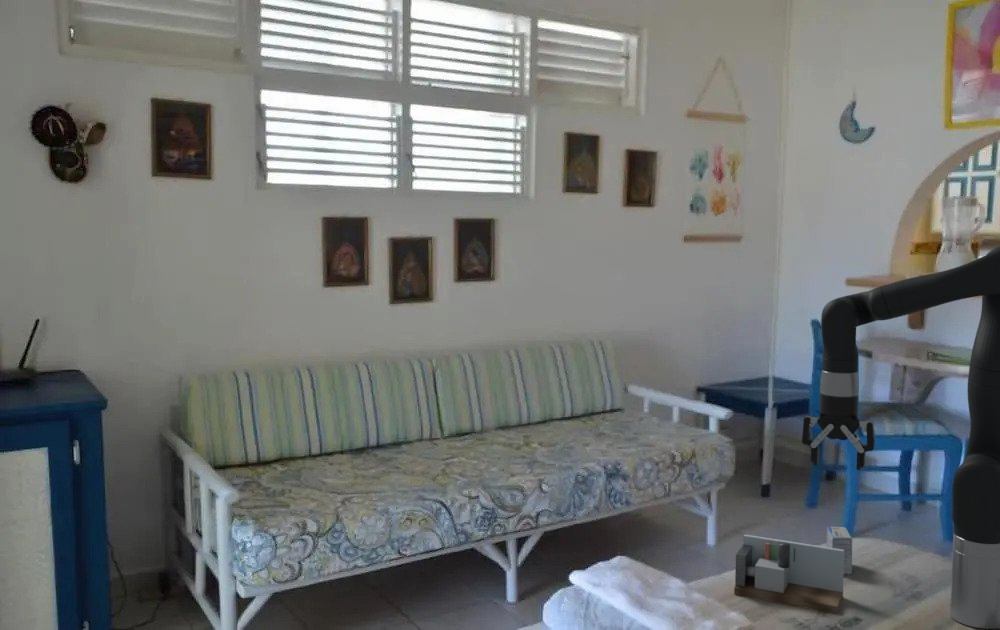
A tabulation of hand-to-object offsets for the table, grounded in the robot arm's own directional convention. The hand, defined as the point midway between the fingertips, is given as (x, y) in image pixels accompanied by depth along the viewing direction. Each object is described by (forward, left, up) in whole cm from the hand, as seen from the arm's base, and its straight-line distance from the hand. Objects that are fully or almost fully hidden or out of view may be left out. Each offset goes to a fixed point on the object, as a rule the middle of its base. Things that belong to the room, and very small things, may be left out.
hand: (837, 466), depth 184 cm
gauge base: (+8, +6, -28) cm, 30 cm away
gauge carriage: (+13, +6, -26) cm, 30 cm away
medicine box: (+1, -16, -28) cm, 33 cm away
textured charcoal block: (+18, +6, -27) cm, 33 cm away
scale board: (+9, +2, -27) cm, 28 cm away
